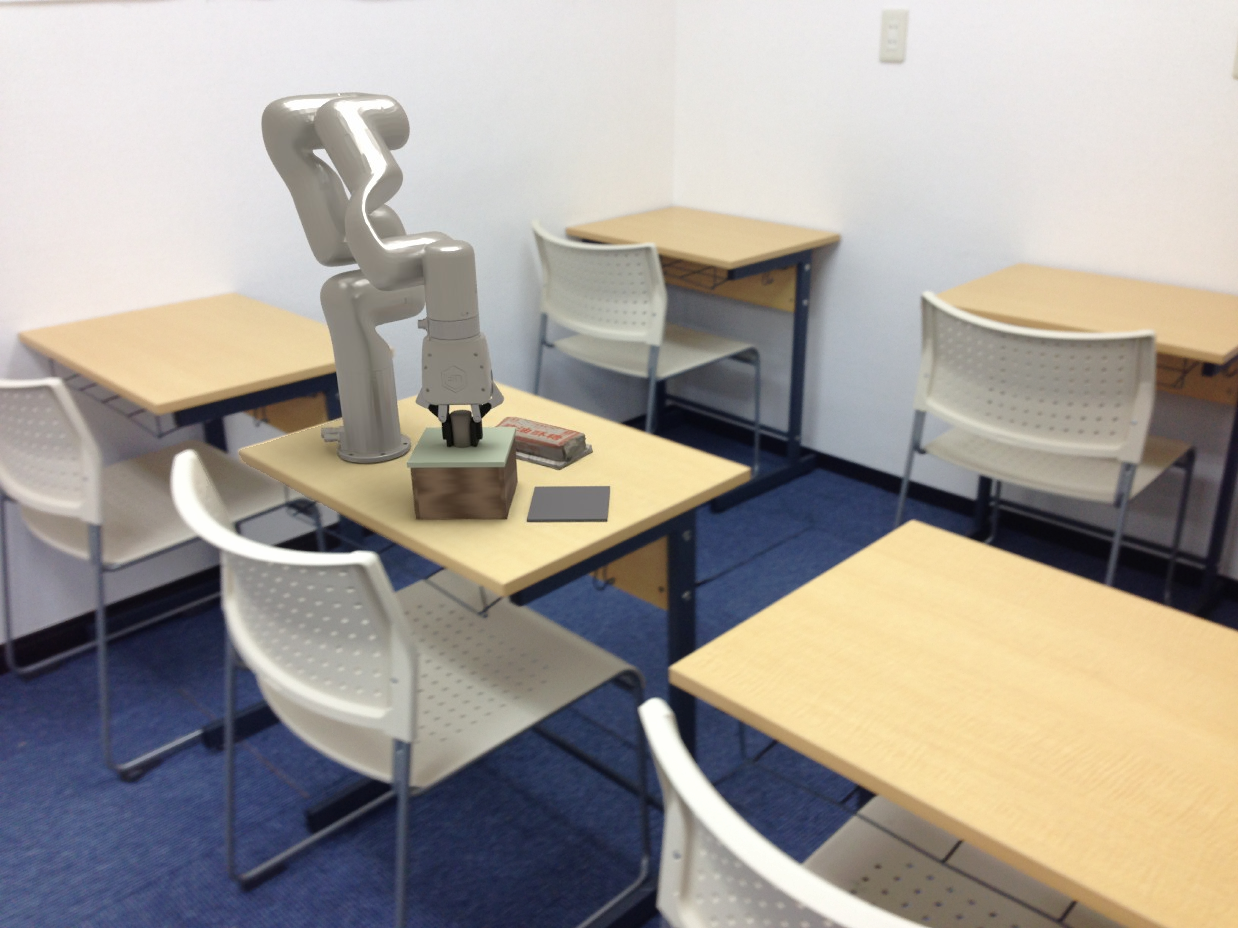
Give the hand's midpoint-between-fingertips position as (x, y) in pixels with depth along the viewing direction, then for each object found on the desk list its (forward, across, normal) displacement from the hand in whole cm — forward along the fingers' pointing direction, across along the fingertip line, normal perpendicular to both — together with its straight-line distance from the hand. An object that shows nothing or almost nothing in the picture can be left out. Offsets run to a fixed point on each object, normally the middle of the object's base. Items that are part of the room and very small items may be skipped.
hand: (463, 442), depth 159 cm
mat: (+10, +16, -2) cm, 19 cm away
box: (+10, 0, 0) cm, 10 cm away
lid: (+2, 0, 0) cm, 2 cm away
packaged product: (+10, +9, +20) cm, 25 cm away
